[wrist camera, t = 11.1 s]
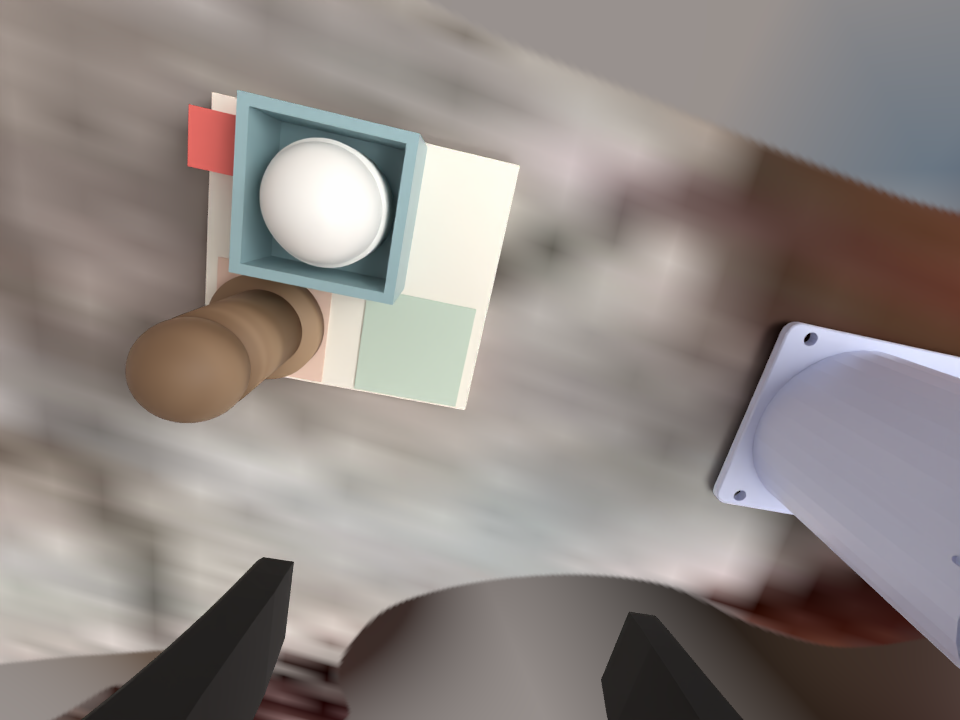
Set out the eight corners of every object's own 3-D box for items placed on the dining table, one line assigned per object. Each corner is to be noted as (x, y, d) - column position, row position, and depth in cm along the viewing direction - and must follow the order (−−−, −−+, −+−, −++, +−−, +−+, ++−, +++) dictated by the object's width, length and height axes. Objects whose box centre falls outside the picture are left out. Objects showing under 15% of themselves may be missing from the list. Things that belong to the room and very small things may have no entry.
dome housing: (427, 146, 15) (420, 133, 12) (404, 288, 16) (392, 305, 13) (279, 111, 14) (237, 89, 11) (268, 260, 16) (228, 271, 13)
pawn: (330, 283, 16) (248, 328, 10) (317, 380, 17) (237, 474, 11) (221, 259, 15) (68, 291, 9) (216, 360, 16) (74, 445, 10)
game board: (517, 167, 16) (526, 160, 13) (464, 401, 18) (465, 429, 16) (224, 97, 15) (181, 78, 12) (214, 355, 17) (177, 378, 15)
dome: (402, 160, 14) (385, 146, 11) (385, 271, 15) (365, 288, 12) (287, 132, 14) (236, 111, 10) (277, 249, 15) (229, 260, 12)
